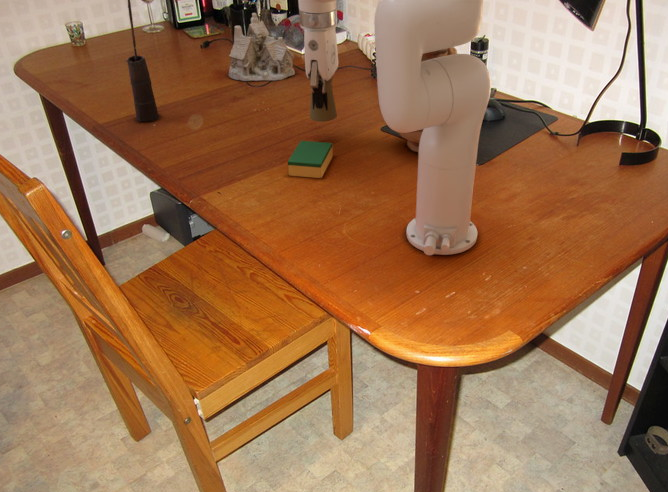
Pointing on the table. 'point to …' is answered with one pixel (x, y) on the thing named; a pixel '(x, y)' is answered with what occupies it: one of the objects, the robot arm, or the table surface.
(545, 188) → the table surface
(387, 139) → the table surface
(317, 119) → the pawn
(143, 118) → the butter churn
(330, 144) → the sponge
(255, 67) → the ceramic cottage
